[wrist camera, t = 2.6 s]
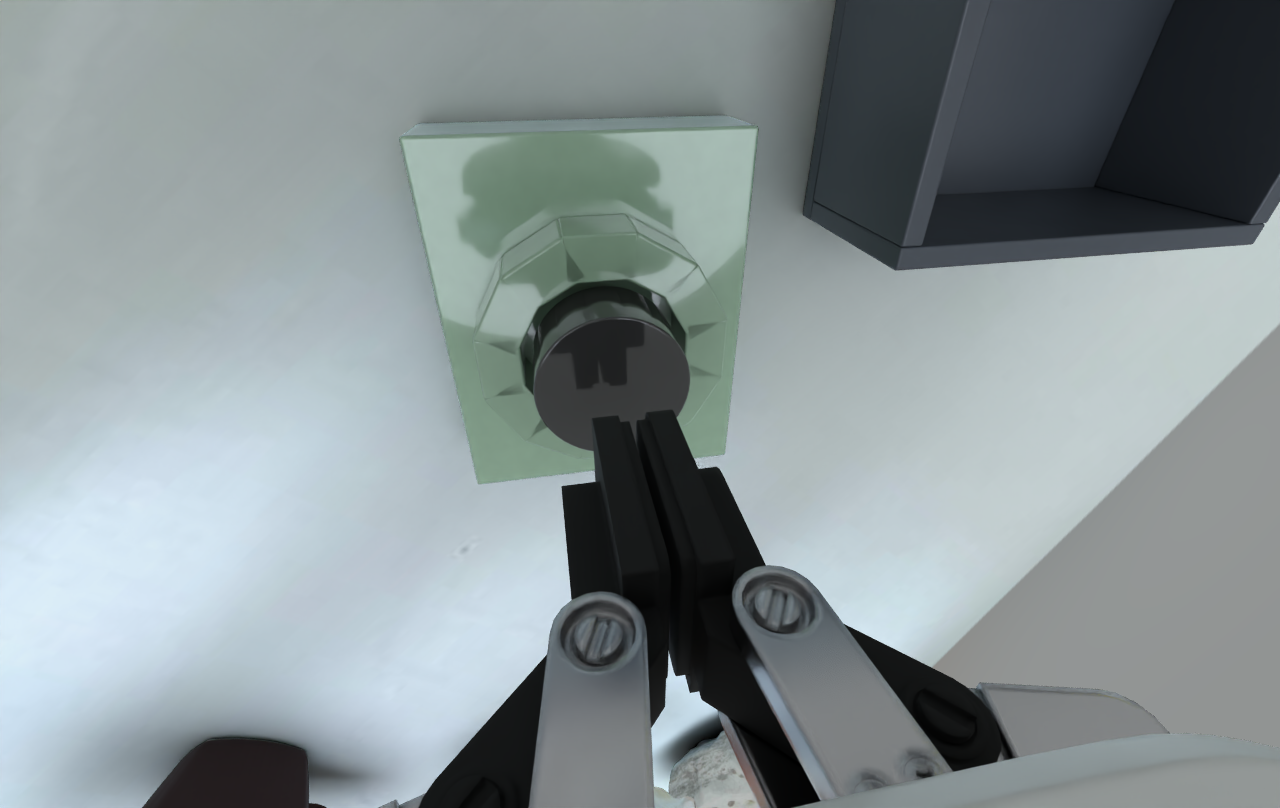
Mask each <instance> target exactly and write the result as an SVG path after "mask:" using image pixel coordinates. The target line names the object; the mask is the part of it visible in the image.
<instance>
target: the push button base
mask: <svg viewBox="0 0 1280 808" xmlns="http://www.w3.org/2000/svg"><path fill="white" fill-rule="evenodd" d="M758 130H759V129H758V126H756V125H753V124H750V123H748V122H745V121H742V120H739V119H736V118H733V117H730V116H727V115H714V116H676V117H638V118H601V119H563V120H525V121H488V122H450V123H419V124H417V125H415V126H414V127H413V128H411V129H410V130H409V131H407V132H406V133H405V134H403V135H402V136H400V138H399V142H400V146H401V150H402V155H403V159H404V164H405V168H406V172H407V177H408V181H409V185H410V190H411V194H412V199H413V203H414V207H415V212H416V216H417V220H418V225H419V229H420V234H421V238H422V242H423V247H424V251H425V256H426V260H427V264H428V269H429V273H430V277H431V282H432V286H433V291H434V295H435V299H436V304H437V308H438V312H439V317H440V321H441V326H442V330H443V334H444V339H445V343H446V347H447V352H448V356H449V361H450V365H451V369H452V374H453V378H454V382H455V387H456V391H457V396H458V400H459V404H460V409H461V413H462V417H463V422H464V426H465V431H466V435H467V439H468V444H469V448H470V452H471V457H472V461H473V466H474V470H475V474H476V479H477V482H478V484H487V483H495V482H504V481H512V480H520V479H528V478H537V477H545V476H553V475H561V474H569V473H578V472H586V471H594V470H595V465H594V451H588V450H584V449H580V448H577V447H575V446H572V445H570V444H568V443H566V442H565V441H563V440H561V439H560V438H559V437H557V436H556V435H555V434H554V433H553V432H552V431H551V430H549V428H548V427H547V426H546V425H545V423H544V422H543V421H542V419H541V417H540V415H539V413H538V411H537V408H536V405H535V401H534V393H533V365H532V348H533V341H534V337H535V334H536V331H537V329H538V326H539V325H540V323H541V321H542V320H543V318H544V317H545V316H546V314H547V313H548V312H549V311H550V310H551V309H552V308H553V307H554V306H555V305H556V304H557V303H559V302H560V301H561V300H563V299H564V298H566V297H568V296H569V295H571V294H573V293H576V292H578V291H581V290H584V289H588V288H592V287H600V286H613V287H621V288H625V289H629V290H632V291H634V292H637V293H639V294H641V295H643V296H645V297H646V298H648V299H649V300H650V301H652V302H653V303H654V304H655V305H656V306H657V307H658V308H659V309H660V310H661V312H662V313H663V314H664V316H665V317H666V319H667V321H668V323H669V325H670V327H671V329H672V331H673V333H674V334H675V336H676V338H677V340H678V342H679V344H680V346H681V348H682V350H683V352H684V353H685V355H686V358H687V361H688V364H689V369H690V388H689V393H688V396H687V400H686V402H685V405H684V407H683V409H682V410H681V412H680V414H679V416H678V417H677V420H678V422H679V425H680V427H681V430H682V432H683V434H684V437H685V439H686V441H687V444H688V446H689V448H690V451H691V453H692V456H693V458H701V457H709V456H717V455H724V454H725V448H726V439H727V429H728V419H729V410H730V400H731V390H732V381H733V371H734V361H735V352H736V342H737V333H738V323H739V313H740V304H741V294H742V284H743V275H744V265H745V255H746V246H747V236H748V226H749V217H750V207H751V198H752V188H753V178H754V169H755V159H756V149H757V140H758Z"/></svg>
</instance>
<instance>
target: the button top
mask: <svg viewBox="0 0 1280 808" xmlns="http://www.w3.org/2000/svg"><path fill="white" fill-rule="evenodd" d="M532 365H533V393H534V401H535V405H536V408H537V411H538V413H539V415H540V417H541V419H542V421H543V422H544V423H545V425H546V426H547V427H548V428H549V430H551V431H552V432H553V433H554V434H555V435H556V436H557V437H559V438H560V439H561V440H563V441H565V442H566V443H568V444H570V445H572V446H575V447H577V448H580V449H584V450H588V451H593V436H592V418H597V417H606V416H616V415H618V416H619V419H620V422H625V421H629V422H630V425H631V428H632V432H633V435H634V439H635V442H636V421H637V420H643V419H645V414H646V412H653V411H662V410H671V409H672V410H673V411H674V413H675V415H676V418H677V417H678V416H679V414H680V412H681V410H682V409H683V407H684V405H685V402H686V400H687V396H688V393H689V388H690V369H689V364H688V361H687V358H686V355H685V353H684V352H683V350H682V348H681V346H680V344H679V342H678V340H677V338H676V336H675V334H674V333H673V331H672V329H671V327H670V325H669V323H668V321H667V319H666V317H665V316H664V314H663V313H662V312H661V310H660V309H659V308H658V307H657V306H656V305H655V304H654V303H653V302H652V301H650V300H649V299H648V298H646V297H645V296H643V295H641V294H639V293H637V292H634V291H632V290H629V289H625V288H621V287H613V286H600V287H592V288H588V289H584V290H581V291H578V292H576V293H573V294H571V295H569V296H568V297H566V298H564V299H563V300H561V301H560V302H559V303H557V304H556V305H555V306H554V307H553V308H552V309H551V310H550V311H549V312H548V313H547V314H546V316H545V317H544V318H543V320H542V321H541V323H540V325H539V326H538V329H537V331H536V334H535V337H534V341H533V348H532Z"/></svg>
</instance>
